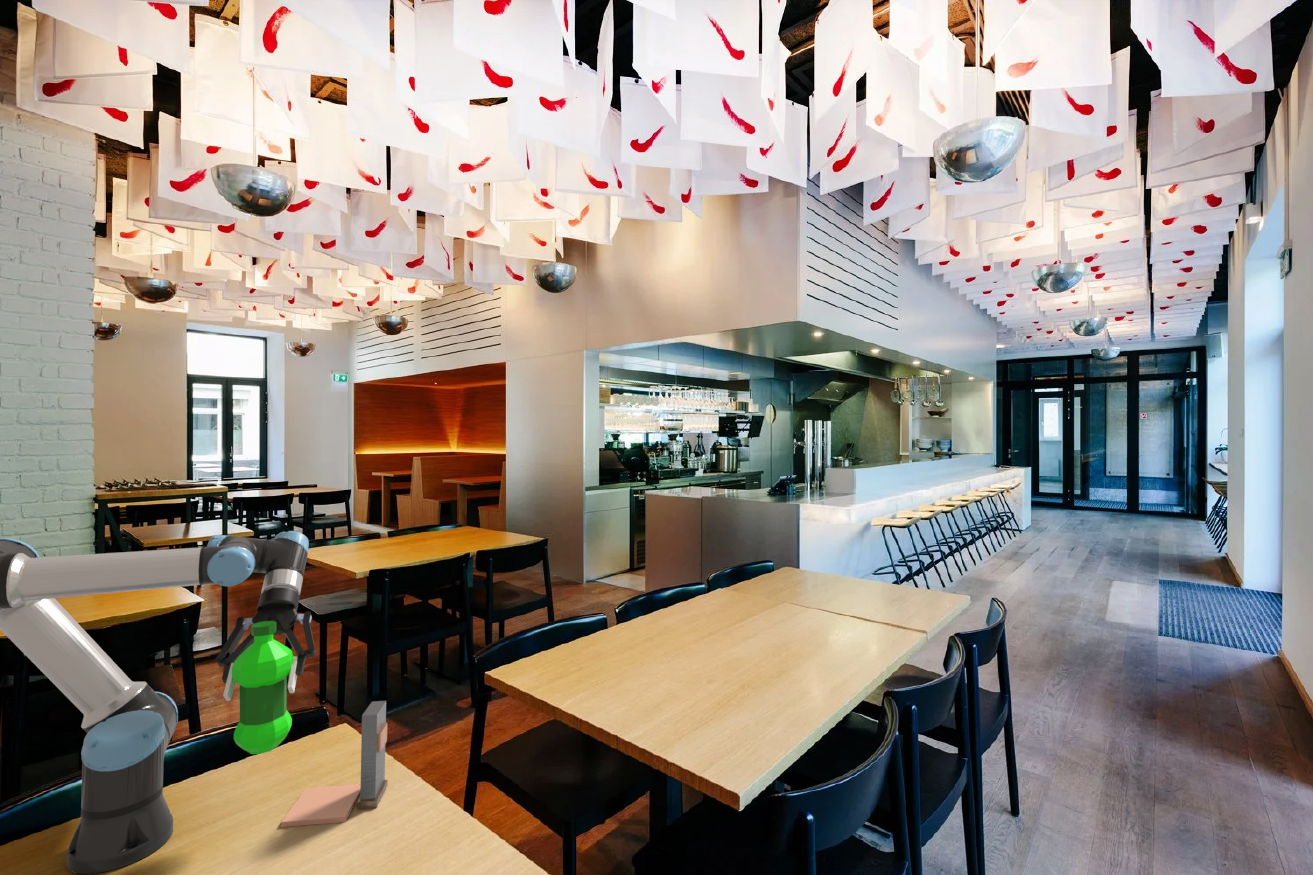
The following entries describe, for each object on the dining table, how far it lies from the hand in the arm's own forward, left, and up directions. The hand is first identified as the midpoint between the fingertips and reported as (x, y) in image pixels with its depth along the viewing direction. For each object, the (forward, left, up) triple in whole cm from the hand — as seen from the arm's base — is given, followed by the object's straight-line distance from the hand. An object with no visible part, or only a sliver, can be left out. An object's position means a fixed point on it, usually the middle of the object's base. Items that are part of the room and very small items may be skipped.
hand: (259, 694), depth 118 cm
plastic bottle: (0, +3, -12) cm, 13 cm away
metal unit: (+19, +10, -28) cm, 35 cm away
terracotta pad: (+10, +8, -28) cm, 30 cm away
